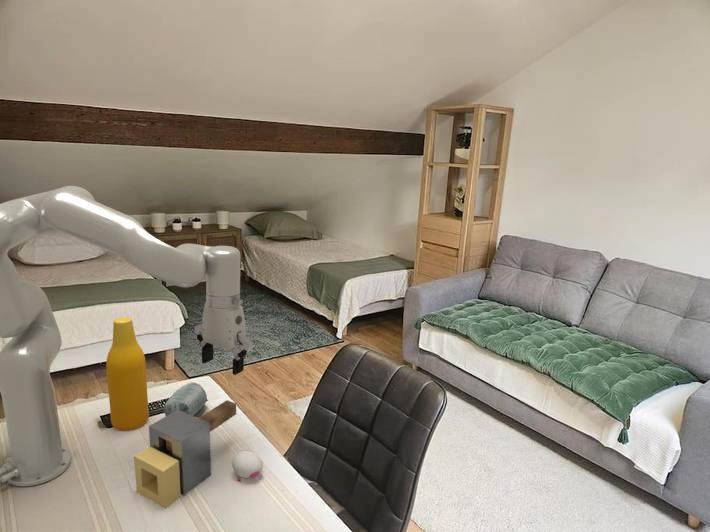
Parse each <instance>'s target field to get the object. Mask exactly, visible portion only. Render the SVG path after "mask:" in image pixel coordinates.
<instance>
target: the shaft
mask: <svg viewBox="0 0 710 532" xmlns="http://www.w3.org/2000/svg"><path fill="white" fill-rule="evenodd" d="M236 415H237V403H236V402H233V401H230V400H229V399H227V400H225V401H223V402H221V403H220V404H218V405H217V406H215V407H214V408H212V409H211V410H209V411H207V412H206V413H204V414H203V415H201V416H200V417H198V418H199V419H201V420H204V421H206V422H208V423H210V433H211V432H212V431H214V430H215V429H217V428H218V427H220V426H221V425H223V424H224V423H226V422H227V421H229V420H230V419H231V418H233V417H235V416H236ZM166 450H167V451H169V452H171V453H173V452H172V442H169V441H167V440H166Z"/></svg>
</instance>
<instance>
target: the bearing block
mask: <svg viewBox="0 0 710 532" xmlns="http://www.w3.org/2000/svg"><path fill="white" fill-rule="evenodd" d="M148 434H149V435H148V436H149V447H152V448H154V449H156V450H158V451H160V452H162V453H164V454H166V455H168V456H170V457H172V458H174V459H176V460H178V461H179V473H180V495H182V496H183V497H185V496H186V495H188V494H189V493H190V492H191V491H193V490H194V489H195V488H196V487H197V486H199V485H200V484H201V483H203V482H204V481H205V480H206V479H208V478H210V476H212V462H211V460H212V459H211V458H212V456H211V451H212V450H211V432H210V423H208V422H206V421H204V420H201V419H199V417H197V416H195V415H194V416H192V415H189V414H187V413H185V412H182V411H180V410H176V411H174V412H173V413H171V414H169V415H167V416H164V417H162V418H161V419H158V420H157V421H156V422H153V423H152V424H150V425H148ZM166 440H167V441H169V442H172V452H173V453H171V452H169V451H167V450H166Z"/></svg>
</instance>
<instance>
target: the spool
mask: <svg viewBox="0 0 710 532" xmlns="http://www.w3.org/2000/svg"><path fill="white" fill-rule="evenodd" d="M207 400H208V396H207V393H206V391H205V389H204V387H203V386H202V385H201V384H199V383H197V382H189V383H186V384H184V385H182V386H181V387H180V388H178V389H177V390H176V391H175V392H173V394H171V396H170V397H169V398H168V400H167V401H166V402H165V404H164V405H163V413H164V417H166V416H167V415H169V414H171V413H173V412H174V411H176V410H180V411H182V412H185V413H187V414H189V415H192V416H194V417H195V415H196V414H197V413H198V412H199V411H200V410H201V409H202V408H203V407H204V406H205V404H206V403H207Z"/></svg>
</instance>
